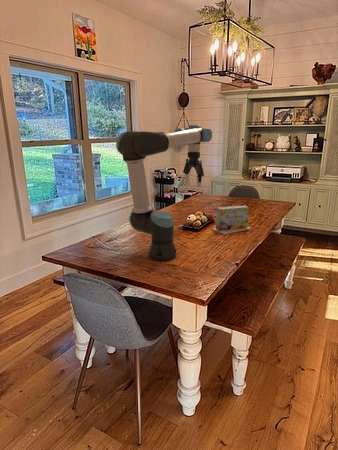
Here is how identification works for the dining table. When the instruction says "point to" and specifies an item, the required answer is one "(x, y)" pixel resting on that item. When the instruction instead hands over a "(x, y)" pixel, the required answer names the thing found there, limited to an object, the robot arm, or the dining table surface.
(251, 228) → the rest mat
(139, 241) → the dining table surface
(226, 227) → the snack box
